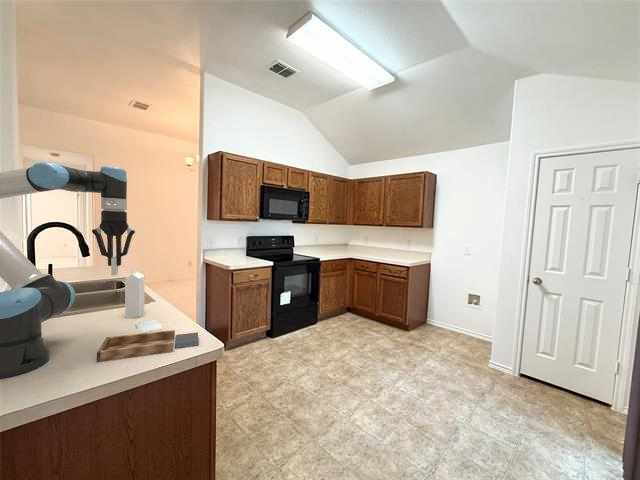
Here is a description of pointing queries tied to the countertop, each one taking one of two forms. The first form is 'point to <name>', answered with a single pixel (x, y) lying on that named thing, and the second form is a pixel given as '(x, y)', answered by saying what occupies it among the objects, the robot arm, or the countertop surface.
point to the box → (136, 345)
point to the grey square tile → (186, 340)
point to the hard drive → (148, 326)
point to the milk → (134, 295)
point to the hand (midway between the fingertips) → (114, 274)
